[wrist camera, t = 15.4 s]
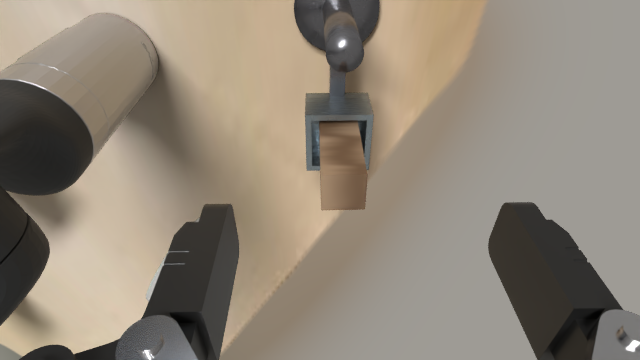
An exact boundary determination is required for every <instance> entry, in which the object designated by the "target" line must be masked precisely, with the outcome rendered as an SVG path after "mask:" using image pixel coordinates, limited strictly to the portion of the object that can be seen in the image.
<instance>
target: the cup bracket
mask: <svg viewBox="0 0 640 360" xmlns="http://www.w3.org/2000/svg"><path fill="white" fill-rule="evenodd" d="M294 13H295V19H296V23H297V26H298V28H299V30H300V32H301V33H302V35H303V36H304V37H305V38H306V40H307V41H309V42H310V43H311V44H312V45H314V46H315V47H317V48H319V49H322V50H325V51H326V58H327V62H328V64H329V65H330V89H329V92H330V93H306V105H305V126H306V162H307V171H311V170H320V144H319V121H342V120H357V121H358V126H359V131H360V137H361V142H362V147H363V153H364V158H365V164H366V169H367V170H369V159H370V148H371V137H372V126H373V116H374V115H373V111H372V107H371V103H370V99H369V95H368V93H345V76H346V72H350V71H353V70H354V69H356V68H357V67H358V66H359V65H360V64H361V62H362V60H363V57H364V49H363V46H362V42H363V41H364V40H365V39H366V38H367V37H368V36H369V35H370V33H371V32H372V30H373V29H374V27H375V25H376V22H377V19H378V15H379V0H295V3H294Z"/></svg>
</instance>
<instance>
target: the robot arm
mask: <svg viewBox="0 0 640 360" xmlns="http://www.w3.org/2000/svg"><path fill="white" fill-rule="evenodd" d="M157 72H158V57H157V53H156V51H155V48H154V46H153V44H152V42H151V41H150V39H149V38H148V36H147V35H146V34H145V33H144V32H143V31H142V30H141V29H140V28H139V27H138V26H136V25H135V24H134V23H132V22H130V21H129V20H127V19H125V18H123V17H120V16H118V15H113V14H108V13H98V14H94V15H90V16H88V17H87V18H85V19H83V20H82V21H80V22H78V23H77V24H75V25H74V26H72V27H70V28H66V29H65V30H63V31H61V32H60V33H58V34H57V35H55V36H53V37H52V38H50V39H49V40H47V41H45V42H44V43H42V44H41V45H39V46H37V47H36V48H34V49H33V50H31V51H30V52H28V53H26V54H25V55H23V56H22V57H20V58H18V60H17V61H16V62H15V63H13V64H11V65H10V66H8V67H7V68H5V69H4V70H2V71H1V72H0V326H1V325H2V323H3V322H4V321H5V320H6V319H7V318H8V317H9V316H10V315H11V313H12V312H13V311H14V310H15V309H16V308H17V307H18V305H19V304H20V303H21V302H22V300H23V299H24V298H25V297H26V295H27V294H28V293H29V292H30V290H31V289H32V288H33V286H34V285H35V283H36V282H37V280H38V279H39V278H40V276H41V274H42V272H43V270H44V268H45V266H46V263H47V261H48V258H49V253H50V248H49V242H48V240H47V238H46V236H45V234H44V233H43V232H42V230H41V229H40V227H39V226H38V225H37V224H36V223H35V221H34V220H33V219H32V218H31V217H30V216H29V215H28V214H27V213H26V212H25V211H24V210H23V209H22V208H21V207H20V205H19V204H18V203H17V202H16V201H15V200H14V199H13V198H12V197H11V196H10V195H9V194H8V193H7V192H6V191H5V190H7V191H10V192H14V193H18V194H24V195H49V194H54V193H58V192H60V191H63V190H64V189H66V188H68V187H69V186H71V185H72V184H74V183H75V182H76V181H77V180H78V178H79V177H80V176H81V175H82V174H83V172H84V171H85V170H86V168H87V167H88V166H89V164H90V163H91V162H92V161H93V159H94V158H95V157H96V155H97V154H98V153H99V151H100V150H101V149H102V148H103V146H104V145H105V143H106V142H107V141H108V140H109V138H110V137H111V136H112V134H113V133H114V132H115V130H116V129H117V128H118V127H119V125H120V124H121V123H122V121H123V120H124V119H125V117H126V116H127V115H128V114H129V112H130V111H131V110H132V108H133V107H134V106H135V104H136V103H137V102H138V101H139V99H140V98H141V97H142V95H143V94H144V93H145V92H146V90H147V89H148V88H149V86H150V85H151V84H152V82H153V81H154V79H155V78H156V75H157ZM488 246H489V247H488V248H489V254H490V258H491V260H492V263H493V265H494V267H495V269H496V271H497V273H498V276H499V278H500V280H501V282H502V284H503V286H504V288H505V291H506V293H507V295H508V297H509V299H510V301H511V304H512V306H513V308H514V310H515V312H516V314H517V316H518V319H519V321H520V323H521V325H522V327H523V329H524V331H525V334H526V336H527V338H528V340H529V342H530V344H531V347H532V349H533V351H534V353H535V355H536V357H537V359H538V360H640V316H639V315H637V314H634V313H632V312H629V311H625V310H623V309H622V308H621V306H620V305H619V303H618V302H617V300H616V299H615V298H614V296H613V295H612V294H611V292H610V291H609V289H608V288H607V287H606V285H605V284H604V282H603V281H602V280H601V278H600V277H599V275H598V274H597V272H596V271H595V270H594V268H593V267H592V265H591V264H590V263H588V262H587V258H586V257H585V256H584V255H583V253H582V252H581V250H579V249H578V246H577V244H576V243H575V242H574V240H573V239H572V238H571V236H570V235H569V233H568V232H567V231H565V230H564V229H563V228H562V227H560V226H559V225H558V224H557V223H555V222H554V221H553V220H546V219H545V217H544V216H543V214H542V213H541V212H540V210H539V209H538V207H537V206H536V205H535V204H534V203H531V202H527V203H526V202H517V203H504V204H503V205H502V207H501V209H500V212H499V215H498V218H497V220H496V222H495V225H494V227H493V230H492V233H491V235H490V238H489V245H488ZM238 258H239V240H238V234H237V229H236V223H235V218H234V212H233V207H232V205H231V204H206V205H204V207H203V210H202V213H201V216H200V219H199V222H186V223H185V224H184V225H183V226H182V228H181V229H180V230H179V231H178V232H177V233H176V234H175V235H174V237H173V240H172V243H171V245H170V248H169V253H167V256H166V258H165V261H164V266H162V269H161V271H160V274H159V277H158V279H157V282H156V284H155V287H154V290H153V292H152V295H151V297H150V300H149V303H148V305H147V308H146V310H145V313H144V315H143V317H142V318H141V320H139V321H137V322H136V323H134V324H133V325H131V326H130V327H129V328H128V329H127V330H126V331H125V332H124V333H123V335H122V336H121V338H120V339H118V340H116V341H114V342H111V343H109V344H106V345H102V346H99V347H96V348H93V349H89V350H86V351H83V352H80V353H76V354H73V353H72V352H71V350H70V349H68V348H67V347H65V346H62V345H48V346H44V347H40V348H38V349H35V350H33V351H31V352H29V353H28V354H26V355H25V356H23V357H22V358H21V359H19V360H219V357H220V352H221V347H222V342H223V336H224V331H225V326H226V321H227V316H228V310H229V305H230V300H231V295H232V290H233V285H234V279H235V274H236V269H237V264H238Z"/></svg>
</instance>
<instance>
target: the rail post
mask: <svg viewBox="0 0 640 360" xmlns="http://www.w3.org/2000/svg"><path fill="white" fill-rule="evenodd" d="M319 144H320V180H321V210H356V209H365V202H366V187H367V175H368V174H367V169H366V164H365V158H364V153H363V147H362V142H361V137H360V131H359V126H358V121H357V120H342V121H319Z"/></svg>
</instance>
